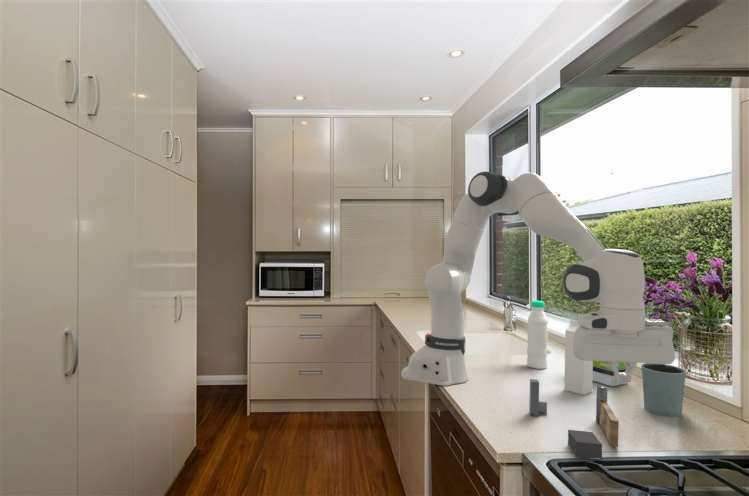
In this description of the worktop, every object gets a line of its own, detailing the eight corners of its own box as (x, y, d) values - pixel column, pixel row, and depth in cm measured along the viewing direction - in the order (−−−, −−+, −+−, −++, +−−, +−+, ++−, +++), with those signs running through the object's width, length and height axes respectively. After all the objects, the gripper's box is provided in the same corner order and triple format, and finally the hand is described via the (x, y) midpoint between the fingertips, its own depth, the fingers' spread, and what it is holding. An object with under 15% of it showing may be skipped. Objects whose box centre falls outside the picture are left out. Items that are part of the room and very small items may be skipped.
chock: (576, 458, 86) (576, 441, 86) (567, 445, 91) (568, 429, 92) (601, 461, 85) (602, 444, 85) (591, 447, 91) (592, 432, 91)
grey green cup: (684, 409, 114) (684, 366, 114) (686, 421, 106) (687, 375, 106) (640, 401, 120) (641, 360, 120) (640, 412, 111) (641, 368, 112)
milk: (583, 395, 124) (584, 323, 124) (563, 389, 129) (565, 320, 129) (592, 391, 128) (594, 321, 128) (573, 386, 133) (574, 318, 133)
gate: (599, 422, 103) (599, 400, 103) (605, 423, 102) (606, 400, 102) (610, 445, 90) (611, 420, 90) (618, 447, 90) (618, 421, 90)
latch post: (530, 415, 107) (531, 381, 107) (528, 411, 110) (529, 377, 110) (548, 417, 106) (548, 383, 106) (546, 413, 109) (546, 379, 109)
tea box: (629, 383, 137) (630, 339, 137) (611, 387, 132) (612, 342, 132) (587, 371, 150) (588, 331, 150) (569, 374, 145) (570, 333, 146)
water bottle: (522, 365, 157) (524, 300, 157) (536, 363, 159) (538, 299, 160) (536, 370, 150) (538, 302, 150) (551, 368, 153) (552, 301, 153)
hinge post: (597, 423, 103) (598, 388, 103) (594, 419, 105) (595, 385, 106) (607, 424, 103) (608, 389, 103) (605, 421, 105) (605, 386, 105)
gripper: (665, 319, 94) (665, 379, 94) (570, 316, 97) (570, 374, 97) (680, 323, 88) (681, 388, 87) (579, 320, 91) (579, 383, 91)
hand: (622, 381), depth 92 cm, fingers closed
